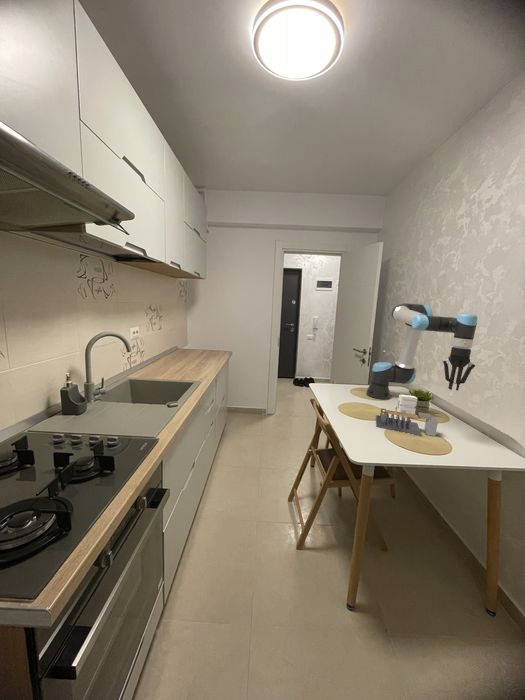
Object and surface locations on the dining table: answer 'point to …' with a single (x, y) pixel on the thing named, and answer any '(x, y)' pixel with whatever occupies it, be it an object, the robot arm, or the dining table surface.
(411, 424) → the heatsink
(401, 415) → the strap
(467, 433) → the dining table surface
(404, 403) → the ink box
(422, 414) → the block
